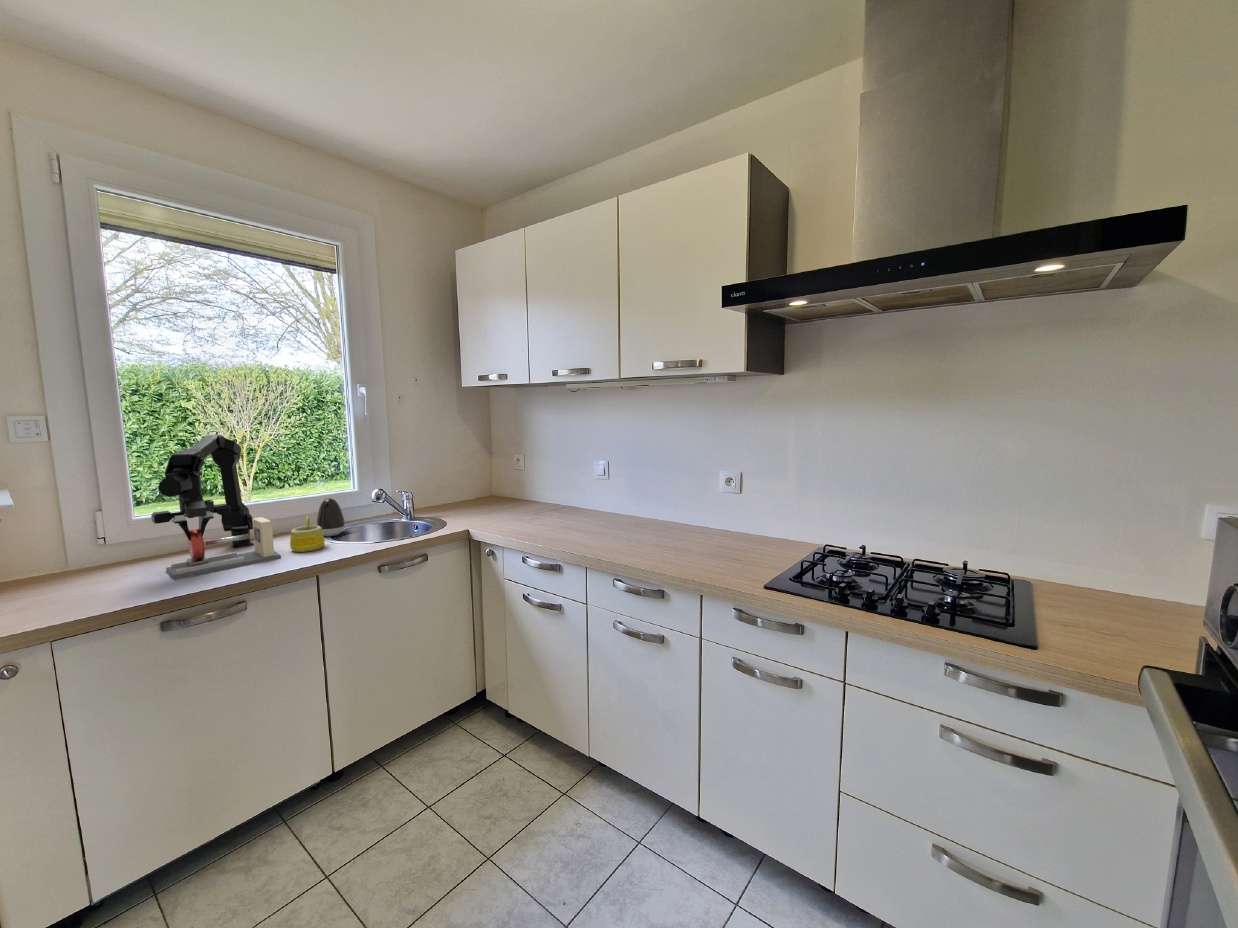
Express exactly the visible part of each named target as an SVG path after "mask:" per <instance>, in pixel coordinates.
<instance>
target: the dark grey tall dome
mask: <svg viewBox="0 0 1238 928" xmlns="http://www.w3.org/2000/svg"><path fill="white" fill-rule="evenodd" d="M317 514H318V515H319V516H318V517H317V521H316V524H315V526H320V527H322V531H323V536H324V537H334V536H338V535H340V534H342V532H343V531H344V529H345V526H346V521H345V516H344V513H343V511H342V509H341V506H340V505H339V502H337V500H336V499H334V498H331V497H329V498H325V499H323V500H322V502H321V503H320V506H319V508H318V511H317Z"/></svg>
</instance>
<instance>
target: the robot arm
mask: <svg viewBox="0 0 1238 928" xmlns="http://www.w3.org/2000/svg"><path fill="white" fill-rule="evenodd" d="M241 453H242V447H241V445H240V444H238V443H237V442H236V441H235V440H233V439H232V440H231V439H230V438H227V437H225V436H223V435H221V434H206V435H204V436H203V438H202V439H201V440H199V441H198V442H197V443H195V444H194V445H193V446H190V448H188V449H182V450H178V451H175V452H173V453H172V454H171V455H170V457H169V459H168V462H167V465H166V468H165V472H164V476H165V477H164V478H163V479H162V480H161V481H160V482H159V484H158V486H157V489H158V492H159V493H161V495H163V496H164V497H169V498H174V497H177V496H178V504H179V511H175V512H171V511H169V510H164V511H163V510H162V511H155V512H152V514H151V515H150V517H151V522H152V523H153V524H156V525H157V524H165V523H169V522H172V523H173V524H178V526H179V527H180V528H181V530H182V531H183V533H184V535H185V537H186V539H187V541H188V540H189V541H191V536H190V532H189V530H190V529H189V525H188V520H186V518H187V519H194V518H197V517H198V529H200V531H201V533H202V537H204V533H205V530H206V527H207V525H208V522H210V520H212V519H215V517H214V516H213V515H214V514H217V515H219V516H220V517H221V518H220V519H221V521H220V522H221V525H222V527H223V531H224V532H230V537H233V536H239V535H245V534H250V535H251V530H253V523H252V519H253V516H252V514H251V513H250V510H249V507H247V505H245V504H244V502H243V500H242V494H241V487H240V482H239V475H238V474H239V473H238V467H237V465H238V463H239V461H240V460H241ZM209 455H211V459H212V461H213V462H214V464H215V465H217V467H219V469H220V476H221V482H222V488H223V495H224V500H225V501H224V502H225V503H218V504H214V499H206V500H205V499H204V498H203V489H202V482H201V476H203V472H202V471H201V469H202V467H203V466H205V463H206V462H205V458H207V457H208V456H209ZM251 538H252V537H250V538H249V539H243V540H238V541H232V542H231V543H228V545H229V547H231V548H232V549H235V548H236V549H237V548H243V547H248V546H253V545H254V546H255V544H254V542H253V541H252V540H251Z"/></svg>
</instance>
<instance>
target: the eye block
mask: <svg viewBox="0 0 1238 928" xmlns="http://www.w3.org/2000/svg"><path fill="white" fill-rule="evenodd" d="M252 523H253V529H252V532H253V541H254V542H253V543H254V550H253V551H248V552H242V553H238V552H237V551H235V552H229V553H223V554H218V555H214V556H213V555H212V556H207V557H206V556H205V557H206V558H207V559H208V561H209V563H208V564H203V565H198V566H192V567H188V566H187V561H186V560H185V561H179V562H173V563H171V564H170V566H166V568H165V569H166V572H167V573H168V575H169V576H170V577H171V578H172V579H173V580H174V581H176V580H181V579H185V578H190V577H194V576H199V575H205V574H209V573H214V572H219V571H225V570H229V569H234V568H239V567H243V566H249V565H252V564H258V563H265V562H270V561H275V560H279V559H282V557H281V554H280V553H278V552H277V551H275V548H274V547H275V546H274V535H273V525H272V520H270V519H268V518H265V517H263V516H262V517H260V516H259V517H254V518H253V519H252Z"/></svg>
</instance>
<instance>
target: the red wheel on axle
mask: <svg viewBox="0 0 1238 928" xmlns="http://www.w3.org/2000/svg"><path fill="white" fill-rule="evenodd" d="M189 532H190V536H191V541H189V540H188V539H187V547H188V548H187V549H188V553H189V555H190V558H188V559H186V560H185V561H187V566H188V567H192V566H198V565H203V564H208V563H209V561H208V559H207V558H206V556H205V555H206V554H205V553H206V551H205V547H206V546H212V545H219V544H224V543H225V544H227V543H230V542H231V543H232V541H238V540H243V539H249V538H251V533H250V534H245V535H239V536H233V537H231V536H228V537H221V538H215V539H208V540H204V538H203V537H204V536H203V537H202V533H201V531H200V529H199V528H196V529H189Z"/></svg>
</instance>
